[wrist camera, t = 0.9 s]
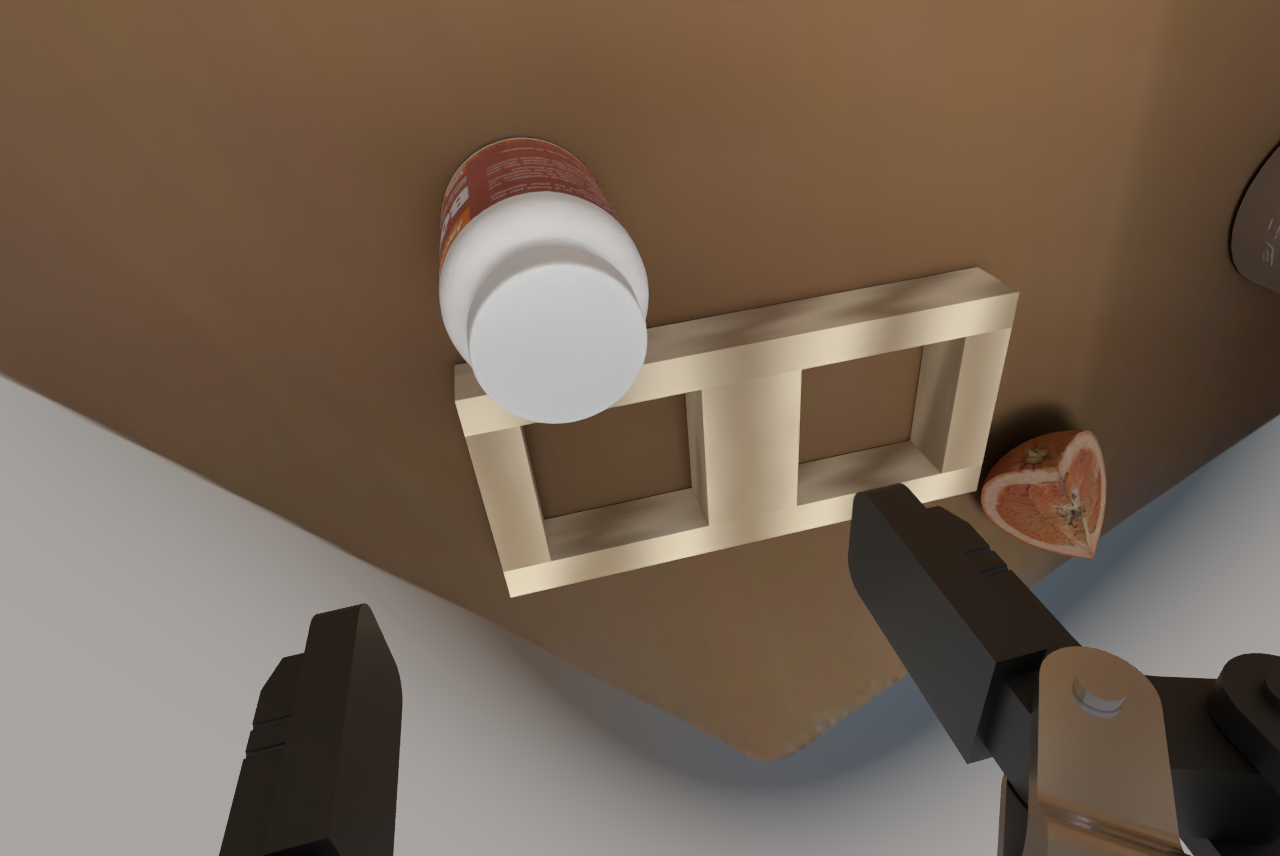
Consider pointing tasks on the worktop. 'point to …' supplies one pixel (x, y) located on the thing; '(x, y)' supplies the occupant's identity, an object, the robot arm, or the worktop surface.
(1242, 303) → the worktop surface
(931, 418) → the rail
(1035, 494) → the fruit slice
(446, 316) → the pill bottle
